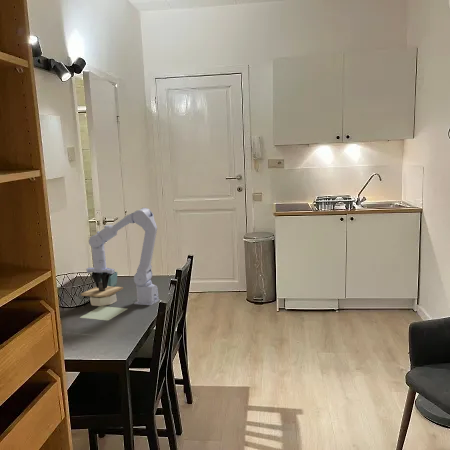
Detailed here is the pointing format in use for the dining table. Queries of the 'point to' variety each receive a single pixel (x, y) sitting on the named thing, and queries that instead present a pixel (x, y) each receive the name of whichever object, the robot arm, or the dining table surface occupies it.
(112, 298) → the bowl
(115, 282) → the flower pot
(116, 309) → the mat
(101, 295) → the lid
